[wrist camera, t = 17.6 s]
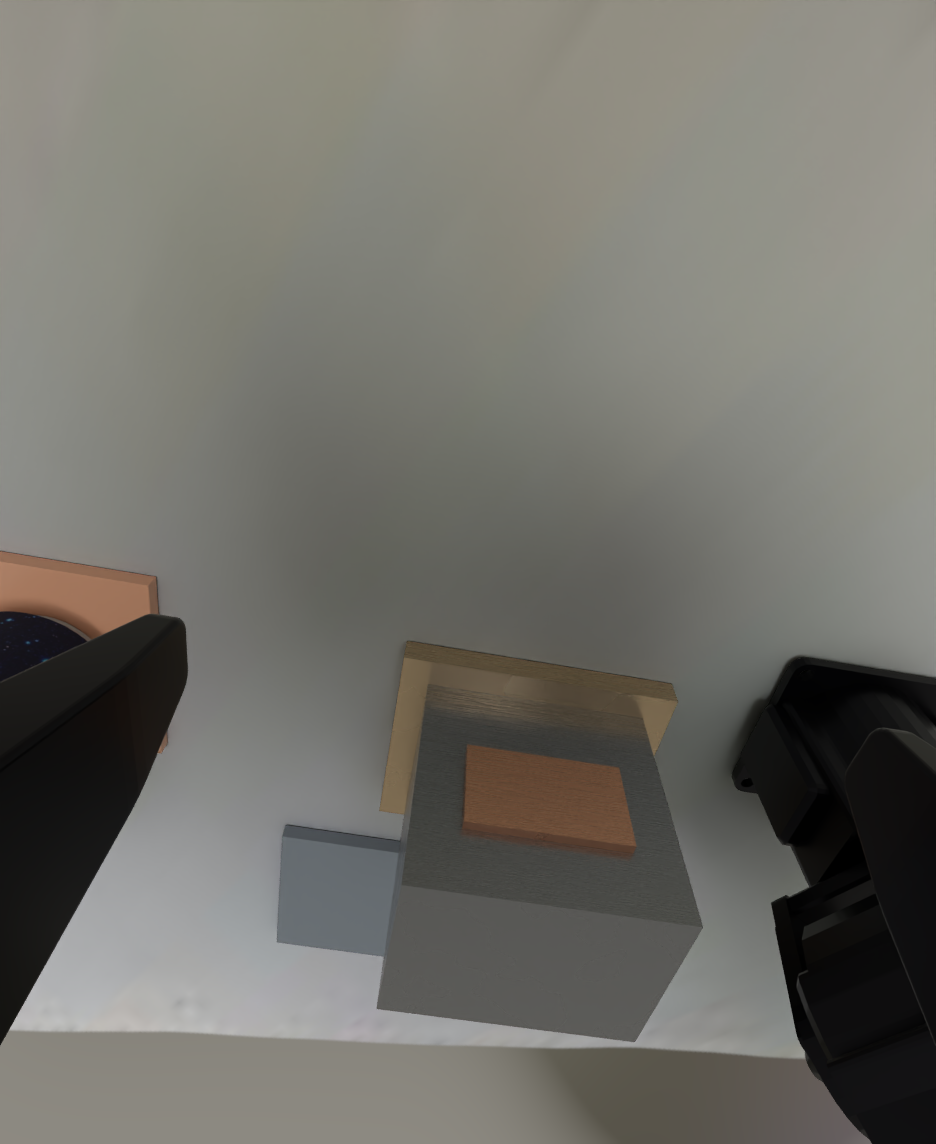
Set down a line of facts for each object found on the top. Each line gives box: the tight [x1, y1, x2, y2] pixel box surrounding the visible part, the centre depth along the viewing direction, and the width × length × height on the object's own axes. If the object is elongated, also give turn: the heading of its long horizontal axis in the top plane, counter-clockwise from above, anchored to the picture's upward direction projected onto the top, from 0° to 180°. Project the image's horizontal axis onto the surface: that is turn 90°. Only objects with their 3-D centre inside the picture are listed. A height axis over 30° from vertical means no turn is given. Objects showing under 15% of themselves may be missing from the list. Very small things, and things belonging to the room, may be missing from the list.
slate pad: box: [277, 825, 400, 957], centre depth 31 cm, size 8×8×1 cm
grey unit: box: [377, 641, 703, 1042], centre depth 23 cm, size 10×8×9 cm
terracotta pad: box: [0, 551, 168, 753], centre depth 25 cm, size 8×8×1 cm
